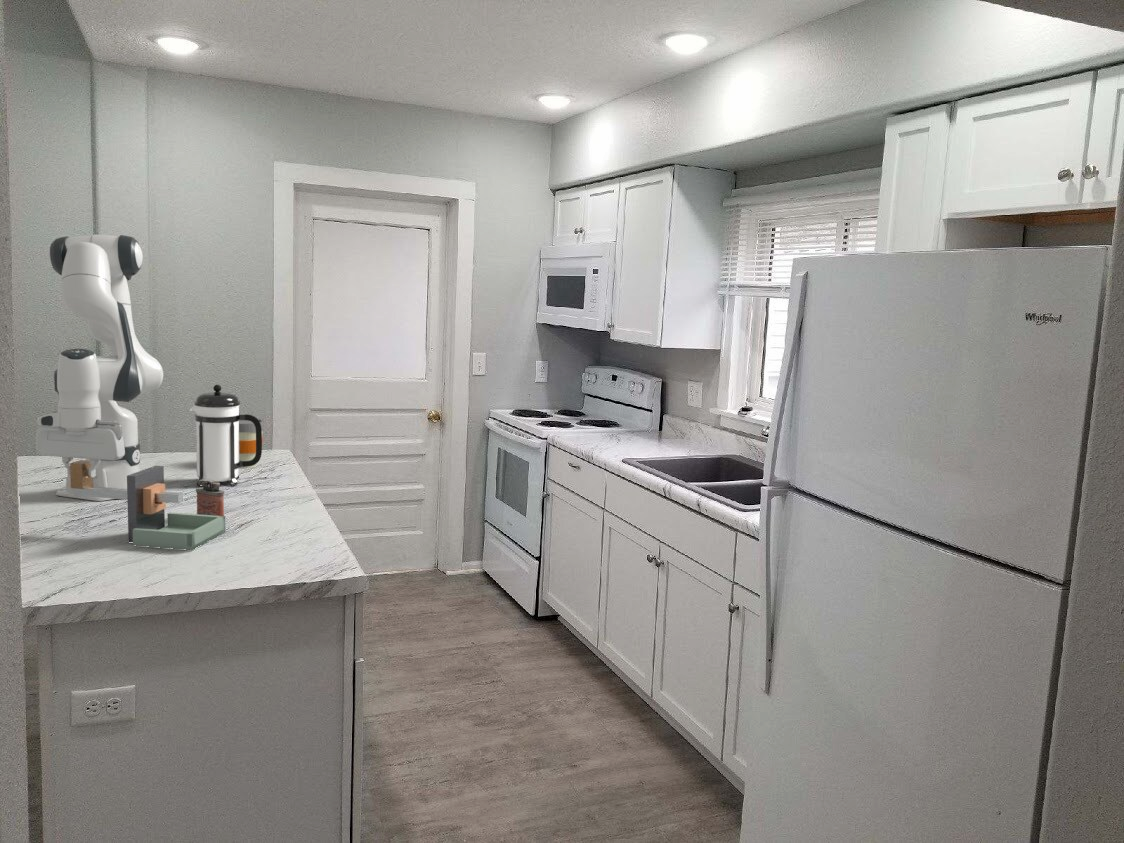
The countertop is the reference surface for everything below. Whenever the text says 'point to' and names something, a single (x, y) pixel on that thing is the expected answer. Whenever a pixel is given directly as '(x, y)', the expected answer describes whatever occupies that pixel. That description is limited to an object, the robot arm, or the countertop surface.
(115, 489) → the shaft
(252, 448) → the reusable coffee cup
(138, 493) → the bearing plate
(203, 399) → the coffee press
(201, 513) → the lighter
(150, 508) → the collar
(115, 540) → the countertop surface
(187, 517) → the tray
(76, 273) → the robot arm
